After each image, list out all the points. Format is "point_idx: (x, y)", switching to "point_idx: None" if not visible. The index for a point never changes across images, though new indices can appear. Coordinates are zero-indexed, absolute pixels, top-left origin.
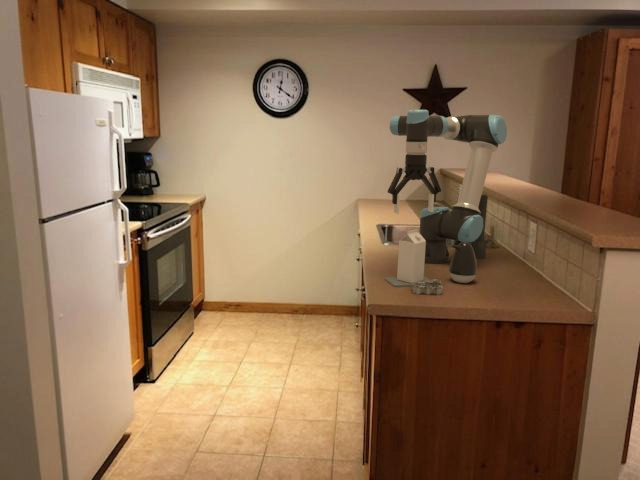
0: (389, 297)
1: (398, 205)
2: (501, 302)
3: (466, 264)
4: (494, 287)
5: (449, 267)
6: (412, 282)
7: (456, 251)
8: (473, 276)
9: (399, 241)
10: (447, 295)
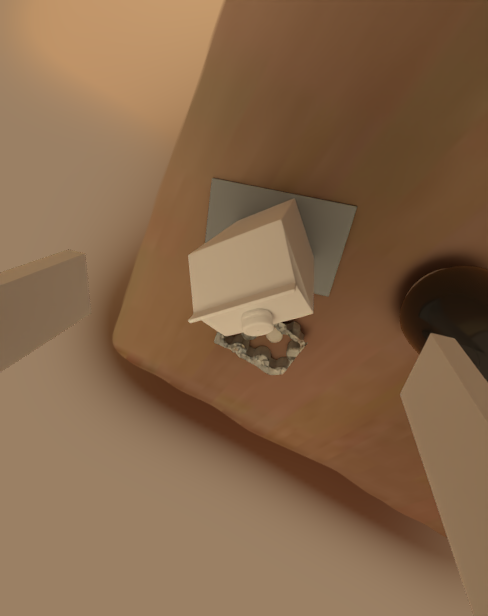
0: (155, 326)
1: (25, 349)
2: (367, 450)
3: None
4: None
5: (415, 296)
6: None
7: None
8: None
9: (191, 257)
10: (290, 372)
